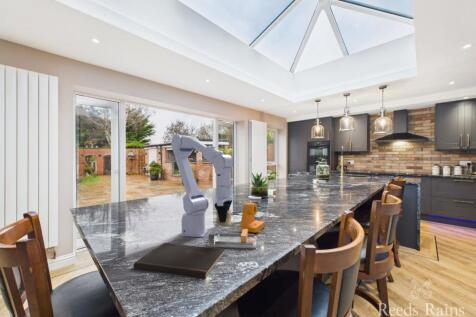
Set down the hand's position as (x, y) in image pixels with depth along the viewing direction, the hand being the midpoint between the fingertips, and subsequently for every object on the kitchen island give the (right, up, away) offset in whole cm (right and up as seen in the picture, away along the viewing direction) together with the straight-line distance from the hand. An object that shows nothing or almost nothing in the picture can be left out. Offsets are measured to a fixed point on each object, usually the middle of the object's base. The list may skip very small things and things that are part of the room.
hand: (223, 220), depth 86 cm
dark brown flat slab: (-12, -9, -15) cm, 22 cm away
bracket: (+12, -9, +15) cm, 21 cm away
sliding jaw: (+8, -7, -1) cm, 11 cm away
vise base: (+3, -8, 0) cm, 9 cm away
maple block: (0, -2, 0) cm, 2 cm away
